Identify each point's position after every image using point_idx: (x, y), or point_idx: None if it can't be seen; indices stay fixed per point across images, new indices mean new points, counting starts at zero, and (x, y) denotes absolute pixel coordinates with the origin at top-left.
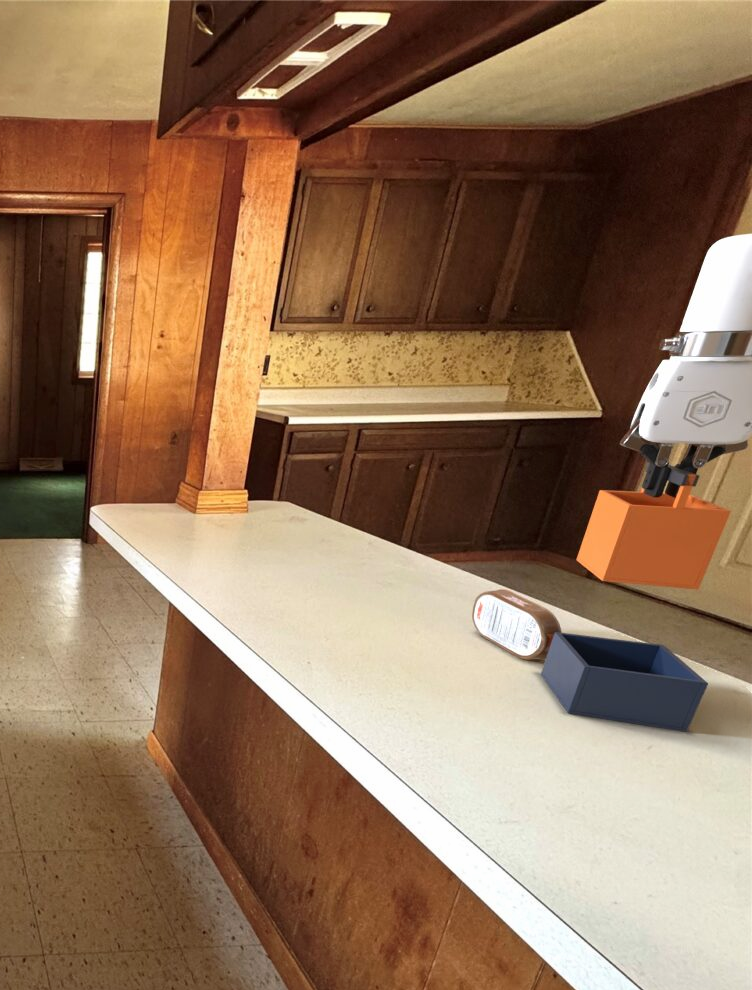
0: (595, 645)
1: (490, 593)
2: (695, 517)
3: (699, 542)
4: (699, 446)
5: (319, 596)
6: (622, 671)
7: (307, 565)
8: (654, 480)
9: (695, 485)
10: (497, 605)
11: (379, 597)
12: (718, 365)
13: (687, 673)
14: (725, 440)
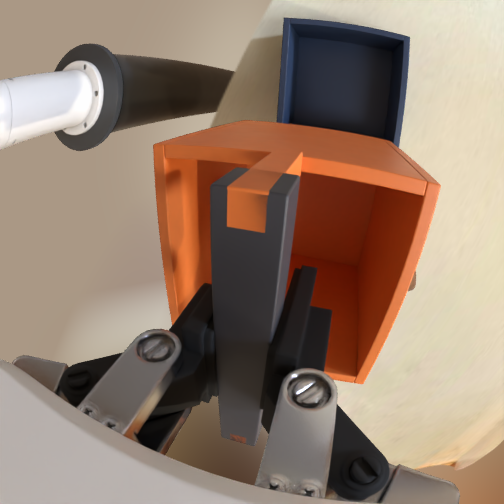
0: None
1: (415, 277)
2: (242, 142)
3: (237, 131)
4: (131, 430)
5: (495, 328)
6: (370, 28)
7: (453, 395)
8: (315, 328)
9: (235, 168)
10: None
11: (442, 336)
12: None
13: (289, 48)
14: (13, 388)
